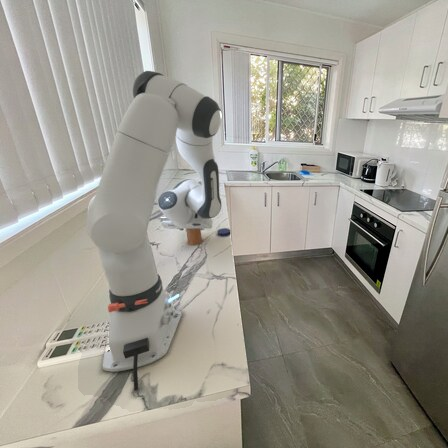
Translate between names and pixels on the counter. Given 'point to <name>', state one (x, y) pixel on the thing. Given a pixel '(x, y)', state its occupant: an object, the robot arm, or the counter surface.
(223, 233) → the lid
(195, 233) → the jar
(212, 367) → the counter surface
